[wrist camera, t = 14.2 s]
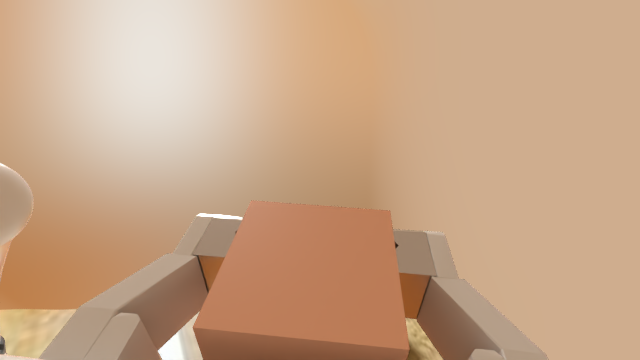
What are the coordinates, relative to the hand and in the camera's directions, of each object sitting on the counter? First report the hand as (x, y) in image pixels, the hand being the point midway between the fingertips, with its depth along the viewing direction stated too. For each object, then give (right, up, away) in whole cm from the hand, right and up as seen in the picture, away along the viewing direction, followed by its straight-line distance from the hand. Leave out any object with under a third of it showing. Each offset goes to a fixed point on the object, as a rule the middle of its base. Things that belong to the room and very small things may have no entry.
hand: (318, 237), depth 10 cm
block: (-1, -10, +2) cm, 11 cm away
